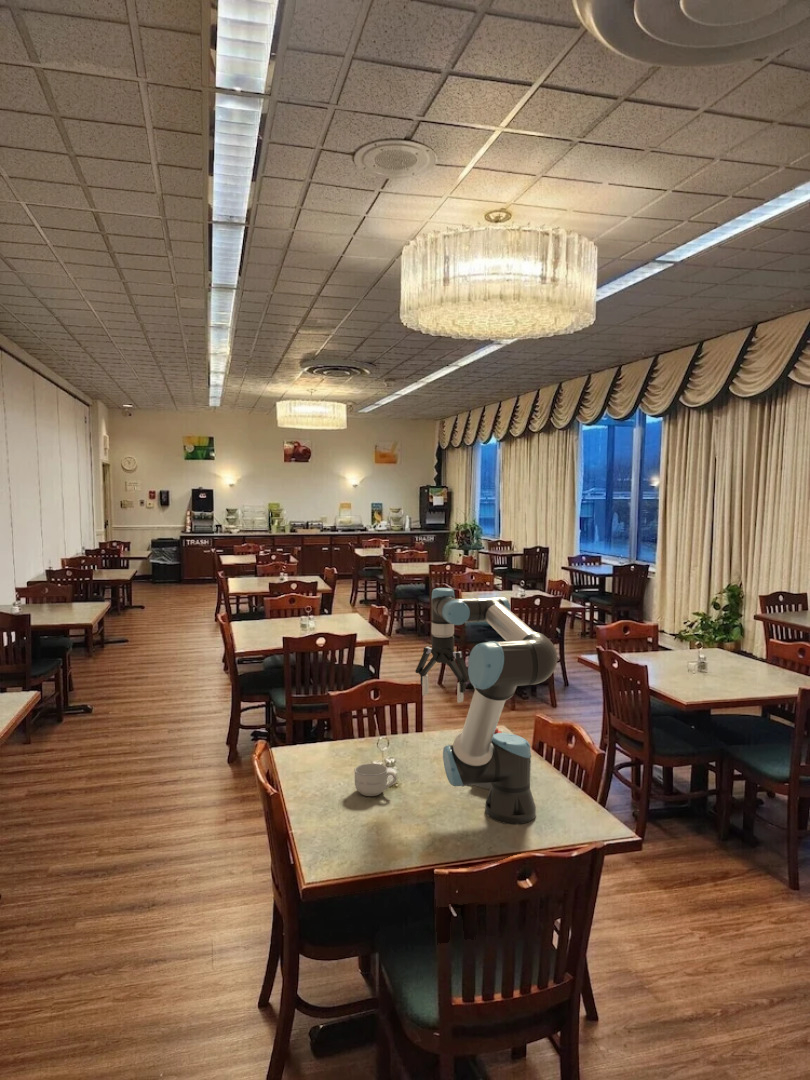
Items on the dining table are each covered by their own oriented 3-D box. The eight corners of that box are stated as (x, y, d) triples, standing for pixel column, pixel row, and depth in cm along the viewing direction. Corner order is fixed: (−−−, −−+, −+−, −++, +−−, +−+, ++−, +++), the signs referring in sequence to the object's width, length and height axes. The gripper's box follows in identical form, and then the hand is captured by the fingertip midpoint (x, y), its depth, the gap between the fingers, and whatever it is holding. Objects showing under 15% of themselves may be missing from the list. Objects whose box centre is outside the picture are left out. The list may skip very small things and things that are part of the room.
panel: (531, 765, 233) (531, 757, 233) (498, 791, 212) (498, 782, 212) (493, 755, 242) (493, 748, 242) (458, 780, 221) (458, 771, 220)
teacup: (347, 795, 209) (347, 771, 209) (365, 782, 219) (365, 759, 218) (385, 804, 203) (385, 779, 202) (402, 791, 212) (402, 767, 212)
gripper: (481, 637, 212) (481, 701, 213) (417, 628, 226) (417, 689, 227) (470, 641, 206) (469, 707, 207) (405, 632, 220) (405, 694, 221)
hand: (442, 698), depth 217 cm, fingers open, 13 cm apart
